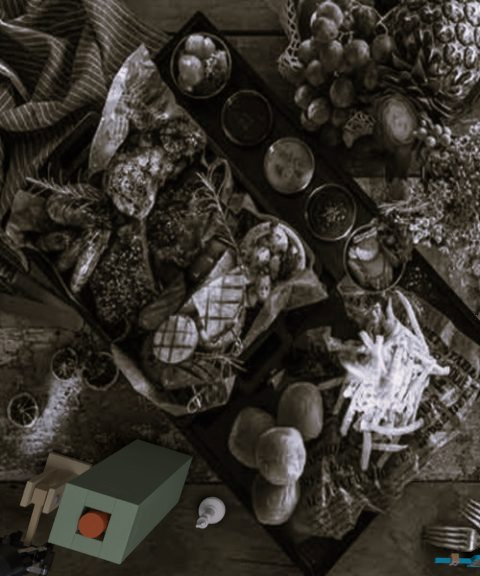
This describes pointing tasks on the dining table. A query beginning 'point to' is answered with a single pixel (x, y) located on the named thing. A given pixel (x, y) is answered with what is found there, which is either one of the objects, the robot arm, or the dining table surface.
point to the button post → (121, 499)
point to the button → (93, 523)
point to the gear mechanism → (459, 560)
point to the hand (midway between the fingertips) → (34, 541)
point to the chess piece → (210, 511)
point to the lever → (34, 516)
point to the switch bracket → (54, 479)
